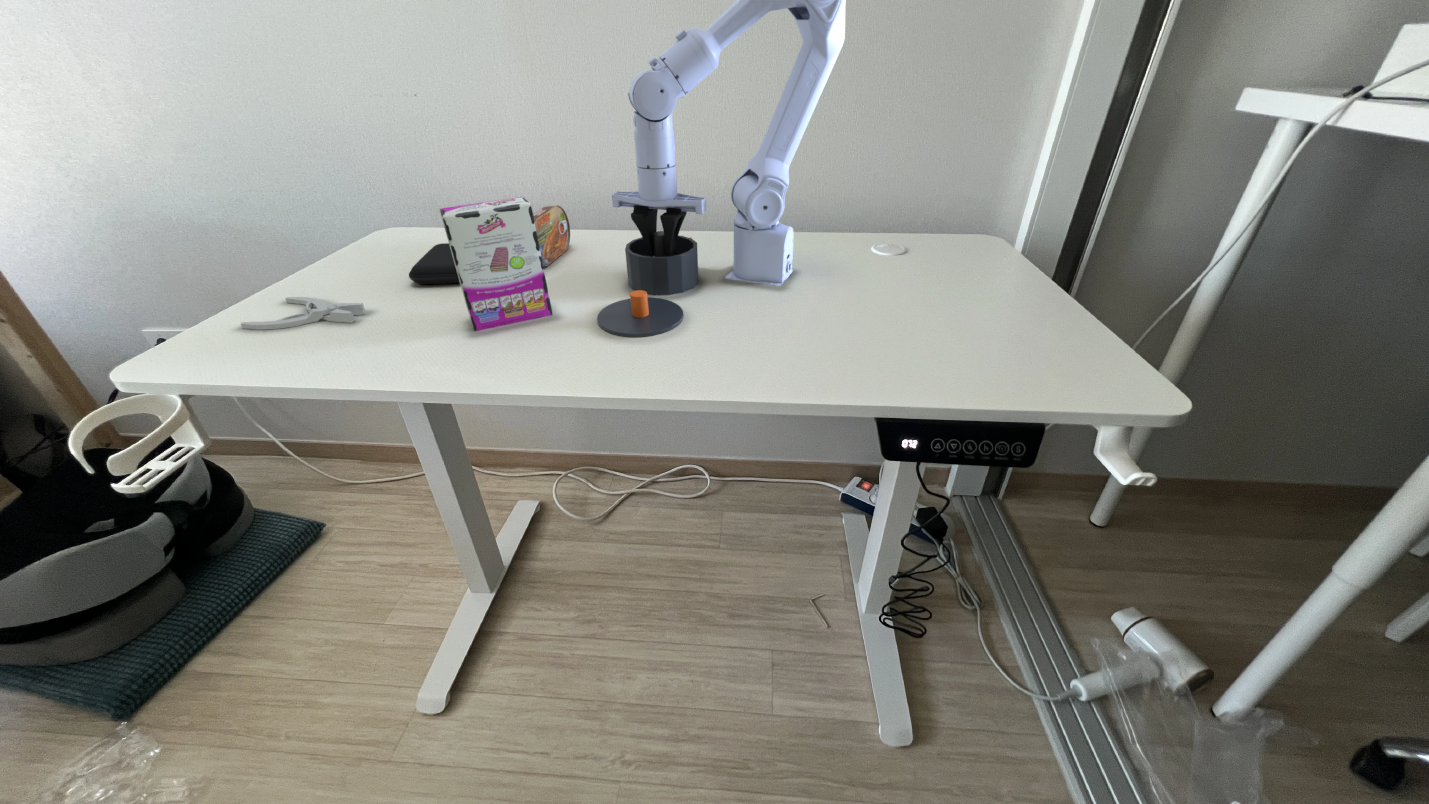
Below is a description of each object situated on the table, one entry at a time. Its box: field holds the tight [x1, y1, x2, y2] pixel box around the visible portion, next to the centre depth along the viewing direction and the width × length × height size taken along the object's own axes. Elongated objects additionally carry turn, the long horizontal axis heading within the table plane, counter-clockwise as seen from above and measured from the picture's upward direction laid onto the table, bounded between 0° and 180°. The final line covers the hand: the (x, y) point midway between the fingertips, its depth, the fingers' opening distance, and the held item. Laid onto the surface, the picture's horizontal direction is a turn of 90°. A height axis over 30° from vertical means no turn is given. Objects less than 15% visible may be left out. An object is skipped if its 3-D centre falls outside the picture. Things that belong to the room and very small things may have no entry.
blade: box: [653, 230, 666, 257], centre depth 92 cm, size 5×5×6 cm
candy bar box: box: [439, 196, 554, 332], centre depth 81 cm, size 11×5×16 cm, turn 117°
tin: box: [533, 205, 571, 267], centre depth 104 cm, size 15×3×8 cm, turn 168°
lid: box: [596, 290, 684, 338], centre depth 83 cm, size 12×12×4 cm
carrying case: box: [408, 242, 460, 285], centre depth 101 cm, size 11×3×15 cm
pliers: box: [240, 296, 367, 331], centre depth 87 cm, size 10×2×15 cm
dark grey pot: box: [624, 234, 699, 296], centre depth 94 cm, size 11×11×6 cm
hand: (662, 255), depth 93 cm, fingers closed on blade, 2 cm apart
